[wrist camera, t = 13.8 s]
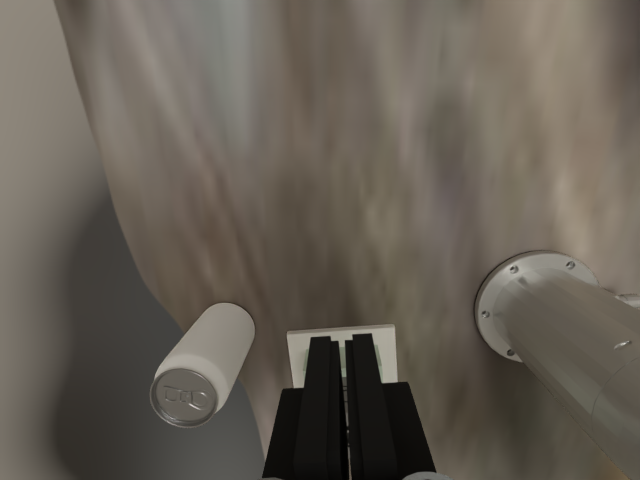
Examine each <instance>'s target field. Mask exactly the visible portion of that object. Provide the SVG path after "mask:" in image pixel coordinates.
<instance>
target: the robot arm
mask: <svg viewBox="0 0 640 480" xmlns="http://www.w3.org/2000/svg"><path fill="white" fill-rule="evenodd" d="M511 267H512V268H511ZM510 268H511V269H510ZM639 307H640V296H638V295H637V294H624V295H619V296H617V295H615V294H613V293H611V292H609V291H607V290H605V289H603V288H601V287H600V285H599V282H598V280H597V279H596V277H595V275H594V274H593V272H592V271H591V270H590V269H589V268H588V267H587V266H586V265H584V264H583V263H581V262H580V261H578V260H577V259H575V258H573V257H570V256H568V255H566V254H562V253H559V252H555V251H545V250H543V251H532V252H528V253H524V254H520V255H518V256H515V257H513V258H511V259H509V260H507V261H506V262H504V263H503V264H501V265H500V266H498V267H497V268H496V269H495V270H494V271H493V272H492V273H491V274H490V275H489V276H488V277H487V279H486V280H485V281H484V283H483V284H482V286H481V288H480V290H479V292H478V295H477V299H476V303H475V320H476V324H477V327H478V330H479V332H480V334H481V335H482V337H483V338H484V340H485V341H486V342H487V343H488V345H489V346H490V347H491V348H492V349H493V350H495V351H496V352H497V353H498V354H500V355H502V356H504V357H505V358H508V359H510V360H514V361H517V362H524V363H525V364H526V366H527V367H528V368H529V369H530V370H531V371H532V372H533V373H534V375H535V376H536V377H537V378H538V379H539V380H540V381H541V382H542V384H543V385H544V386H545V387H546V388H547V389H548V390H549V391H550V393H551V394H552V395H553V396H554V397H555V398H556V399H557V400H558V401H559V403H560V404H561V405H562V406H563V407H564V408H565V409H566V410H567V412H568V413H569V414H570V415H571V416H572V417H573V418H574V419H575V421H576V422H577V423H578V424H579V425H580V426H581V427H582V428H583V430H584V431H585V432H586V433H587V434H588V435H589V436H590V437H591V438H592V440H593V441H594V442H595V443H596V444H597V445H598V446H599V447H600V449H601V450H602V451H603V452H604V453H605V454H606V455H607V456H608V457H609V458H610V459H611V461H612V462H613V463H614V464H615V465H616V466H617V467H618V468H619V469H620V470H621V471H622V472H623V473H624V474H625V475H626V476H627V477H628V478H630V479H631V480H640V310H638V309H636V308H639ZM483 311H484V312H483ZM352 339H353V340H345V359H346V381H347V404H348V426H349V448H350V464H351V476H352V480H454V479H452V478H450V477H448V476H446V475H443V474H439V473H437V472H436V469H435V466H434V463H433V460H432V456H431V453H430V450H429V447H428V444H427V440H426V437H425V434H424V431H423V428H422V424H421V421H420V418H419V415H418V412H417V409H416V405H415V402H414V399H413V396H412V393H411V389H410V386H409V384H408V382H394V383H382V382H381V377H380V372H379V367H378V362H377V357H376V352H375V347H374V342H373V337H372V333H365V334H352ZM259 480H349V460H348V436H347V422H346V411H345V401H344V391H343V380H342V370H341V360H340V350H339V341H331V336H320V337H311V338H310V345H309V352H308V359H307V367H306V374H305V381H304V388H288V389H283V390H282V393H281V397H280V401H279V405H278V410H277V414H276V419H275V423H274V427H273V432H272V436H271V440H270V445H269V449H268V454H267V458H266V462H265V467H264V471H263V476H262V479H259Z"/></svg>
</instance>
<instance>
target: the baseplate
mask: <svg viewBox="0 0 640 480" xmlns="http://www.w3.org/2000/svg"><path fill="white" fill-rule="evenodd" d="M365 333H372V337H373V342H374V345H378V349H379V354H380V359H381V363H382V372H383V383H394V382H398V379H397V360H396V341H395V326H394V324H382V325H367V326H352V327H338V328H323V329H308V330H293V331H287V341H288V349H289V356H290V363H291V371H292V378H293V385H294V388H304V376H303V367H304V360H305V354H306V349H309V345H310V338H311V337H320V336H331V341H339V347H345V340H353V339H352V334H365Z"/></svg>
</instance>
